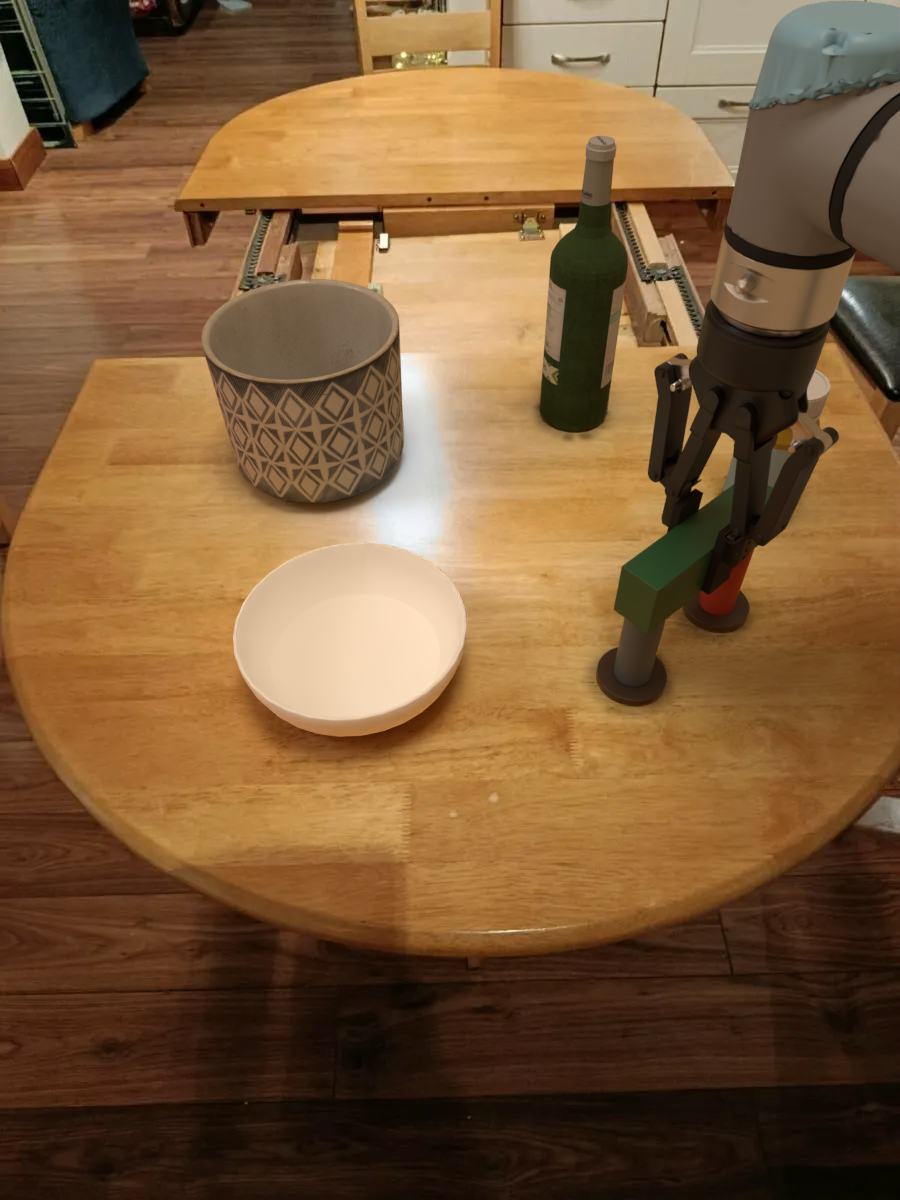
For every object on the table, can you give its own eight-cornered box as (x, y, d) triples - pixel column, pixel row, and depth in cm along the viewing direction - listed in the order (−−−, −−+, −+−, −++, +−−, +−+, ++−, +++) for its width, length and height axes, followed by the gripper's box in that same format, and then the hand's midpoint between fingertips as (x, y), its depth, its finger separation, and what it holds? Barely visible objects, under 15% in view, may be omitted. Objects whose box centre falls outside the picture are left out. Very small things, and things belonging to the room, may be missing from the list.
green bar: (768, 538, 73) (784, 493, 69) (647, 634, 66) (658, 591, 62) (733, 517, 74) (747, 473, 71) (613, 609, 67) (621, 565, 64)
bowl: (223, 758, 69) (206, 715, 65) (271, 584, 82) (259, 538, 78) (462, 768, 68) (461, 725, 64) (471, 590, 81) (472, 544, 77)
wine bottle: (535, 395, 103) (553, 126, 80) (599, 391, 103) (635, 123, 81) (543, 434, 97) (565, 159, 75) (612, 431, 98) (654, 155, 75)
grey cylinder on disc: (679, 679, 74) (701, 611, 67) (635, 718, 71) (652, 651, 64) (626, 640, 77) (641, 571, 70) (581, 676, 74) (593, 608, 68)
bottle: (750, 535, 86) (793, 411, 75) (706, 495, 90) (740, 372, 79) (803, 513, 88) (852, 390, 77) (758, 475, 92) (798, 352, 81)
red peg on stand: (760, 609, 79) (787, 540, 72) (721, 643, 76) (745, 574, 70) (707, 575, 82) (729, 505, 75) (668, 606, 79) (686, 537, 73)
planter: (433, 488, 91) (428, 353, 79) (259, 537, 87) (224, 402, 74) (375, 394, 103) (363, 264, 91) (219, 433, 99) (184, 301, 86)
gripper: (626, 280, 55) (587, 540, 72) (858, 388, 47) (752, 653, 64) (697, 243, 58) (644, 500, 76) (927, 338, 50) (807, 603, 67)
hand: (693, 570), depth 70 cm, fingers closed on green bar, 3 cm apart
